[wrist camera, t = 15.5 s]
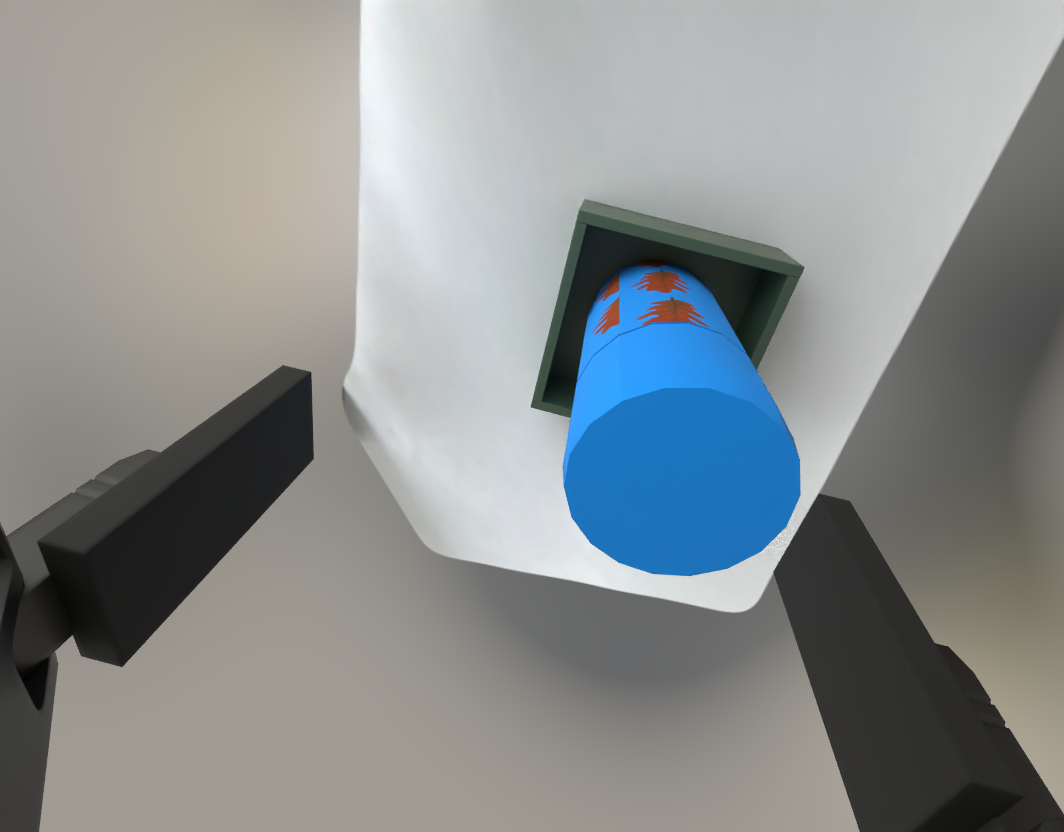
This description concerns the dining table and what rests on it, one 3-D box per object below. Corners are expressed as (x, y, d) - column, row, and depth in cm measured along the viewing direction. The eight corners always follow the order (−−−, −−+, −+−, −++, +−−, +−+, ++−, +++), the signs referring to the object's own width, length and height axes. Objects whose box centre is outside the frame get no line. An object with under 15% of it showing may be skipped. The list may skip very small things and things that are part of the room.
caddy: (584, 199, 43) (579, 210, 37) (779, 248, 43) (805, 267, 37) (540, 375, 51) (530, 407, 45) (705, 418, 51) (716, 456, 45)
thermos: (695, 386, 48) (759, 597, 26) (578, 367, 49) (547, 557, 27) (730, 266, 43) (846, 405, 21) (599, 247, 44) (580, 362, 22)
